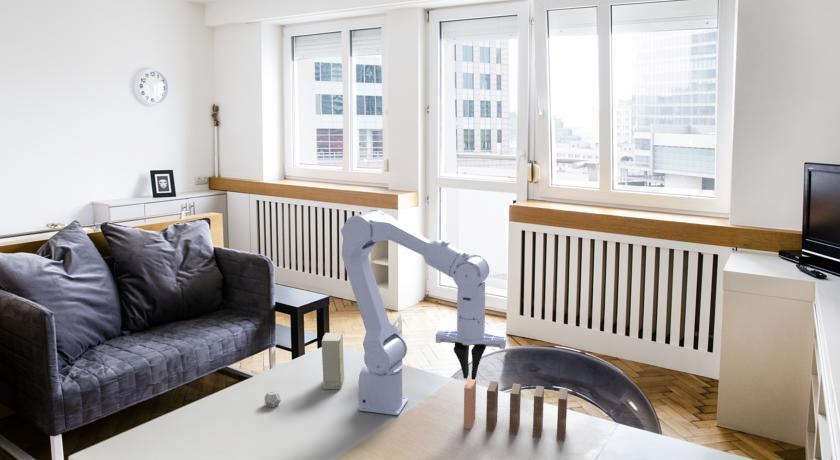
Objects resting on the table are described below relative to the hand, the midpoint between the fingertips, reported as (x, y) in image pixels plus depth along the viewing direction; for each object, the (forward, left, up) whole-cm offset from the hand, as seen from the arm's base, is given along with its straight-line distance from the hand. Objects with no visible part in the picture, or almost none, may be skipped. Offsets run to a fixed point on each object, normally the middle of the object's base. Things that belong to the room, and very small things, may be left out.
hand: (470, 377), depth 140 cm
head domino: (0, 0, -10) cm, 10 cm away
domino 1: (+5, 0, -10) cm, 11 cm away
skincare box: (-36, +11, -11) cm, 39 cm away
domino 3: (+14, 0, -10) cm, 18 cm away
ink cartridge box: (-25, +21, -11) cm, 34 cm away
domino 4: (+19, 0, -10) cm, 22 cm away
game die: (-45, -3, -11) cm, 46 cm away
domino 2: (+10, 0, -10) cm, 14 cm away
